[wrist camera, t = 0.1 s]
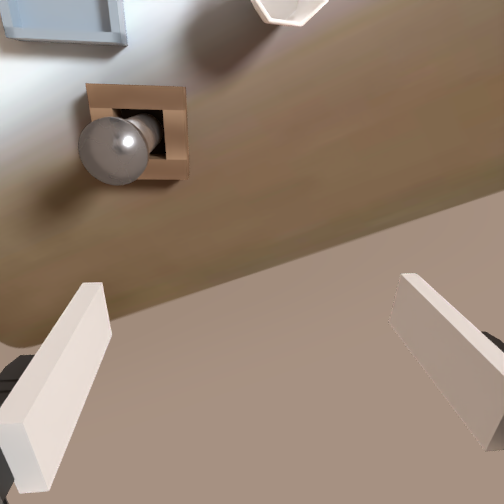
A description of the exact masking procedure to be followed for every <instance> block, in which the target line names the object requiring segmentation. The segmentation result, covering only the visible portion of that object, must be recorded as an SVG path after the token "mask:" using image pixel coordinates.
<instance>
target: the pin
mask: <svg viewBox="0 0 504 504" xmlns="http://www.w3.org/2000/svg"><path fill="white" fill-rule="evenodd" d="M162 137H163V128H162V125H161V123H160V122H159V120H158V119H157V118H156V117H154V116H153V115H150V114H147V113H142V114H138V115H135V116H133V117H130V118H127V119H122V118H119V117H104V118H100V119H97V120H94V121H92V122H91V123H89V124H88V125H87V126H86V127H85V128H84V129H83V131H82V133H81V135H80V138H79V142H78V150H79V155H80V159H81V161H82V163H83V165H84V166H85V168H86V169H87V170H88V172H89V173H90V174H91V175H92V176H94V177H95V178H96V179H98V180H100V181H102V182H104V183H107V184H111V185H125V184H128V183H131V182H133V181H135V180H136V179H137V178H138V177H139V176H140V175H141V174H142V173H143V172H144V170H145V169H146V167H147V164H148V161H149V153H150V152H151V151H152V150H153V149H154V148H155V147H156V146H157V145H158V144H159V143H160V142H161V140H162Z"/></svg>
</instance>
